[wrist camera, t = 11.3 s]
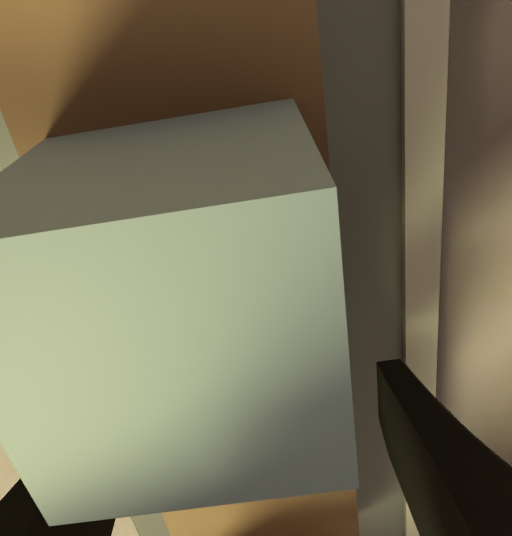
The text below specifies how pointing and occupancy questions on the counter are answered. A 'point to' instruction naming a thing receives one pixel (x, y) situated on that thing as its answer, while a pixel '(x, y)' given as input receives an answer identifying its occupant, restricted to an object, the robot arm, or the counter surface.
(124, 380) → the block
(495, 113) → the counter surface
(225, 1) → the board
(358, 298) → the dock
